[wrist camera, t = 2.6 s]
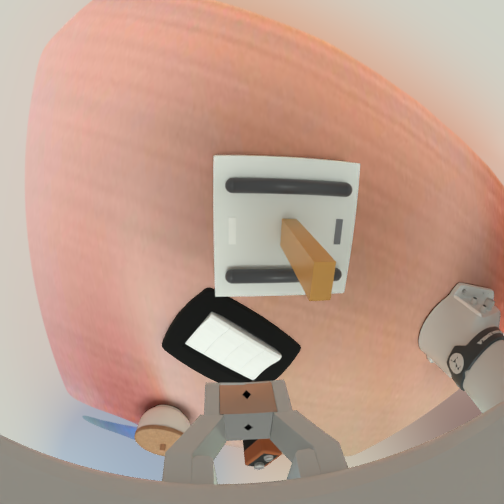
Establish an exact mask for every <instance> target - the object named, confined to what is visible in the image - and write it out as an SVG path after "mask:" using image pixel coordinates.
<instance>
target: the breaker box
mask: <svg viewBox="0 0 504 504" xmlns="http://www.w3.org/2000/svg"><path fill="white" fill-rule="evenodd" d="M359 175H360V164H359V163H353V162H347V161H339V160H329V159H317V158H304V157H287V156H266V155H214V164H213V220H214V273H215V297H235V296H283V295H306V294H305V292H304V290H303V288H302V286H301V284H300V282H299V280H298V278H297V276H296V274H295V272H294V270H293V269H292V267H291V265H290V263H289V261H288V259H287V257H286V255H285V253H284V252H283V250H282V248H281V246H280V242H281V225H282V219H297V220H298V221H299V222H300V223H301V224H302V225H303V226H304V227H305V228H306V230H307V231H308V232H309V233H310V234H311V235H312V236H313V237H314V238H315V239H316V240H317V241H318V242H319V244H320V245H321V246H322V247H323V248H324V249H325V250H326V251H327V252H328V253H329V255H330V256H331V257H332V258H333V259H334V260H335V261H336V266H335V273H334V280H333V286H332V292H331V294H332V293H344V290H345V284H346V279H347V273H348V267H349V260H350V254H351V247H352V240H353V232H354V225H355V216H356V207H357V198H358V187H359Z"/></svg>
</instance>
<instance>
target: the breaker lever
mask: <svg viewBox="0 0 504 504" xmlns="http://www.w3.org/2000/svg"><path fill="white" fill-rule="evenodd" d="M280 246H281V248H282V250H283V252H284V253H285V255H286V257H287V259H288V261H289V263H290V265H291V267H292V269H293V270H294V272H295V274H296V276H297V278H298V280H299V282H300V284H301V286H302V288H303V290H304V292H305V294H306V295H307V297H308V299H309V301H321V300H330V298H331V292H332V286H333V280H334V273H335V266H336V261H335V260H334V259H333V258H332V257H331V256H330V255H329V253H328V252H327V251H326V250H325V249H324V248H323V247H322V246H321V245H320V244H319V242H318V241H317V240H316V239H315V238H314V237H313V236H312V235H311V234H310V233H309V232H308V231H307V230H306V228H305V227H304V226H303V225H302V224H301V223H300V222H299V221H298V220H297V219H282V225H281V242H280Z"/></svg>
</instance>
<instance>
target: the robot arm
mask: <svg viewBox="0 0 504 504" xmlns="http://www.w3.org/2000/svg"><path fill="white" fill-rule="evenodd" d="M493 299H494V291H493V290H492V289H489V288H484V287H480V286H475V285H470V284H465V283H458V284H457V285H456V286H455V287H454V288H453V290H452V291H451V293H450V294H449V295H448V296H447V297H446V298H445V299H444V300H442V301H441V302H440V303H439V304H438V305H437V306H436V307H435V308H434V309H433V311H432V312H431V313H430V314H429V316H428V317H427V319H426V321H425V322H424V324H423V326H422V329H421V332H420V335H419V347H420V349H421V351H423V352H424V353H425V354H426V355H427V359H428V361H429V362H431V363H433V362H434V363H435V364H436V365H437V366H438V367H439V368H440V369H442V370H443V371H444V372H445V373H446V374H447V375H448V376H449V377H452V379H453V380H454V381H455V383H456V385H457V386H458V387H460V389H461V390H463V391H466V392H467V394H468V395H469V396H470V397H471V399H472V400H473V401H474V403H475V404H476V405H477V407H478V408H479V409H480V411H481V412H482V414H481V415H479V416H477V417H475V418H474V419H472V420H470V421H469V422H467V423H465V424H463V425H461V426H459V427H457V428H455V429H453V430H451V431H449V432H447V433H445V434H443V435H441V436H439V437H436V438H434V439H432V440H430V441H427V442H425V443H423V444H420V445H418V446H416V447H413V448H411V449H408V450H405V451H403V452H400V453H397V454H394V455H392V456H389V457H386V458H382V459H379V460H377V461H373V462H370V463H367V464H363V465H359V466H355V467H351V468H348V466H347V463H346V461H345V458H344V455H343V452H342V450H341V447H340V444H339V442H338V441H336V440H335V439H333V438H332V437H331V436H329V435H328V434H327V433H325V432H324V431H323V430H321V429H320V428H319V427H317V426H316V425H315V424H313V423H312V422H311V421H309V420H308V419H307V418H306V417H304V416H303V415H302V414H300V413H299V412H298V411H297V410H294V411H293V410H292V406H291V403H290V399H289V395H288V391H287V387H286V384H285V381H284V380H274V381H259V382H245V383H206V385H205V407H204V415H200V416H199V417H198V418H197V419H196V420H195V421H194V423H193V424H192V425H191V426H190V427H189V428H188V429H187V430H186V431H185V432H184V433H183V434H182V436H181V437H180V438H179V439H178V440H177V441H176V442H175V443H174V444H173V445H172V446H171V447H170V448H169V449H168V450H167V451H166V452H165V460H164V469H163V479H162V481H155V480H147V479H140V478H134V477H128V476H123V475H118V474H113V473H108V472H103V471H99V470H95V469H91V468H87V467H84V466H80V465H77V464H73V463H70V462H67V461H64V460H60V459H57V458H55V457H52V456H49V455H46V454H43V453H41V452H38V451H36V450H33V449H30V448H28V447H26V446H23V445H21V444H19V443H17V442H15V441H12V440H10V439H8V438H6V437H4V436H2V435H0V504H504V336H503V333H502V332H501V331H500V329H499V323H500V310H499V309H498V308H497V307H496V306H495V305H494V303H495V301H494V300H493ZM248 439H270V440H271V441H272V442H273V443H274V444H275V445H276V447H277V448H278V449H279V450H280V451H281V452H282V453H283V454H284V455H285V456H286V457H287V458H288V459H289V460H290V461H291V462H292V465H291V468H290V471H289V474H288V477H287V480H282V481H274V482H262V483H248V484H217V478H216V473H215V467H214V462H213V461H214V459H215V458H216V456H217V455H218V453H219V452H220V450H221V449H222V447H223V446H224V444H225V443H226V441H231V440H248Z"/></svg>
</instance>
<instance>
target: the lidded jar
mask: <svg viewBox="0 0 504 504" xmlns="http://www.w3.org/2000/svg"><path fill="white" fill-rule="evenodd" d="M190 426H191V425H190V423H189V421H188V419H187V418H186V416H185V415H184V414H182V412H181V411H180V410H179V409H177V408H176V407H173V406H170V405H157V406H155V407H154V408H151V409H149V410H148V411H146V412H145V413H144V414H143V415H142V417H141V419H140V421H139V423H138V426H137V430H136V432H135V440H136V442H137V443H138V444H139V445H140V446H141V447H142V448H144V449H145V450H147V451H149V452H152V453H154V454H157V455H161V456H165V452H166V451H167V450H168V449H169V448H170V447H171V446H172V445H173V444H174V443H175V442H176V441H177V440H178V439H179V438H180V437H181V436H182V434H183V433H184V432H185V431H186V430H187V429H188V428H189V427H190Z"/></svg>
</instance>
